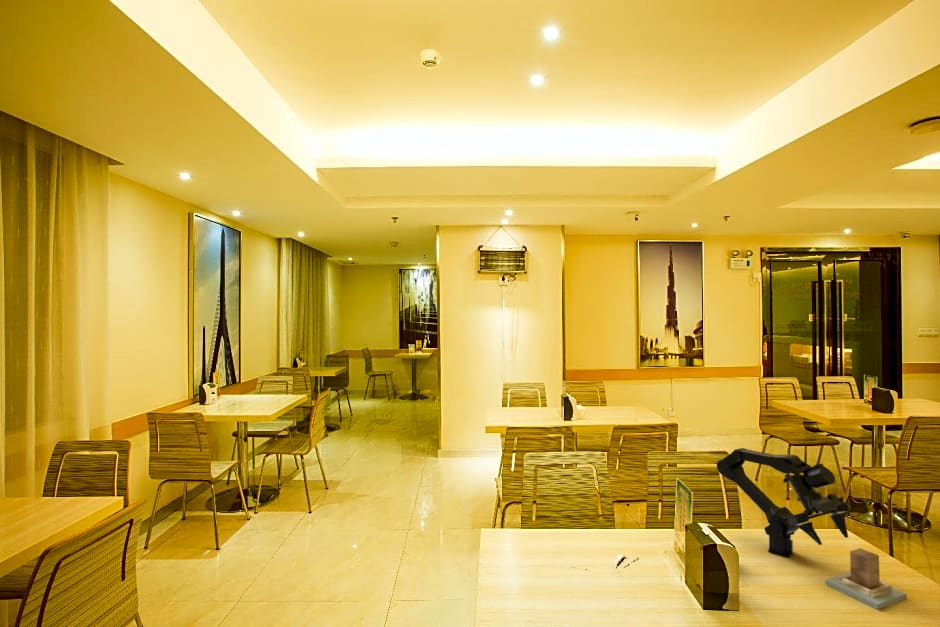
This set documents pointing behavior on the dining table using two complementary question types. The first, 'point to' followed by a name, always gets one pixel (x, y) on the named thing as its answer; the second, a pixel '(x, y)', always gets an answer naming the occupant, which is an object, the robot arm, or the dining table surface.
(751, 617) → the dining table surface
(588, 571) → the dining table surface
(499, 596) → the dining table surface
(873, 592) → the grey square framed tray
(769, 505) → the robot arm
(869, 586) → the walnut block
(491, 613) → the dining table surface
